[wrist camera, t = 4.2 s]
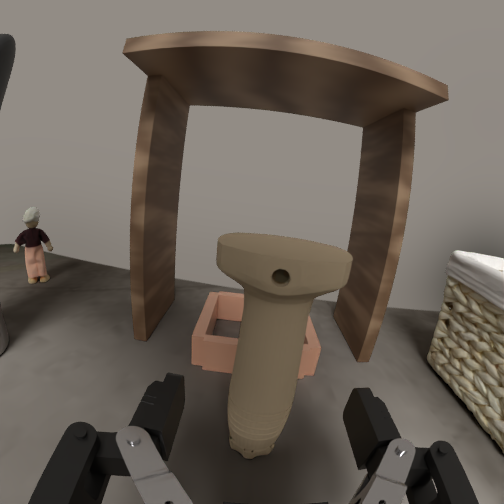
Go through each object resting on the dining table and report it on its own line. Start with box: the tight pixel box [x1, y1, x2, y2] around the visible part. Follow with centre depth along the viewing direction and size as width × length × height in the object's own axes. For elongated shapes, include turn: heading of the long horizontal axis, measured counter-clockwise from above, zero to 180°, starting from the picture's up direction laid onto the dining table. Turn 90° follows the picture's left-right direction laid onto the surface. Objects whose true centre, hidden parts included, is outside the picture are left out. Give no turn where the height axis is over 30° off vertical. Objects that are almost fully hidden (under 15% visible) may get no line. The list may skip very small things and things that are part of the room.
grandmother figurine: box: [14, 207, 53, 284], centre depth 35 cm, size 8×4×13 cm, turn 140°
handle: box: [216, 233, 353, 459], centre depth 15 cm, size 5×6×15 cm
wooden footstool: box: [123, 31, 448, 362], centre depth 28 cm, size 27×18×30 cm, turn 89°
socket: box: [192, 291, 321, 379], centre depth 31 cm, size 12×12×4 cm
